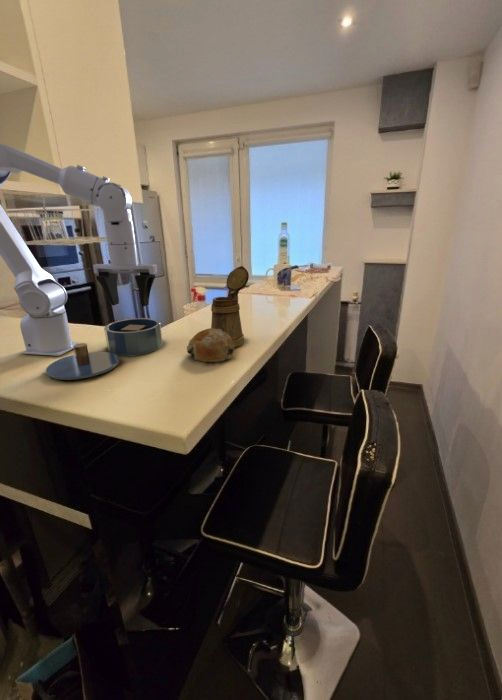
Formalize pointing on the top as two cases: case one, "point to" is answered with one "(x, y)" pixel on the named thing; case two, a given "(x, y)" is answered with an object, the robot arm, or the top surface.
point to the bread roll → (211, 346)
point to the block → (133, 328)
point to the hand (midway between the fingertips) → (130, 304)
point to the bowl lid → (82, 364)
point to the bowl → (133, 337)
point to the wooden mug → (230, 307)
